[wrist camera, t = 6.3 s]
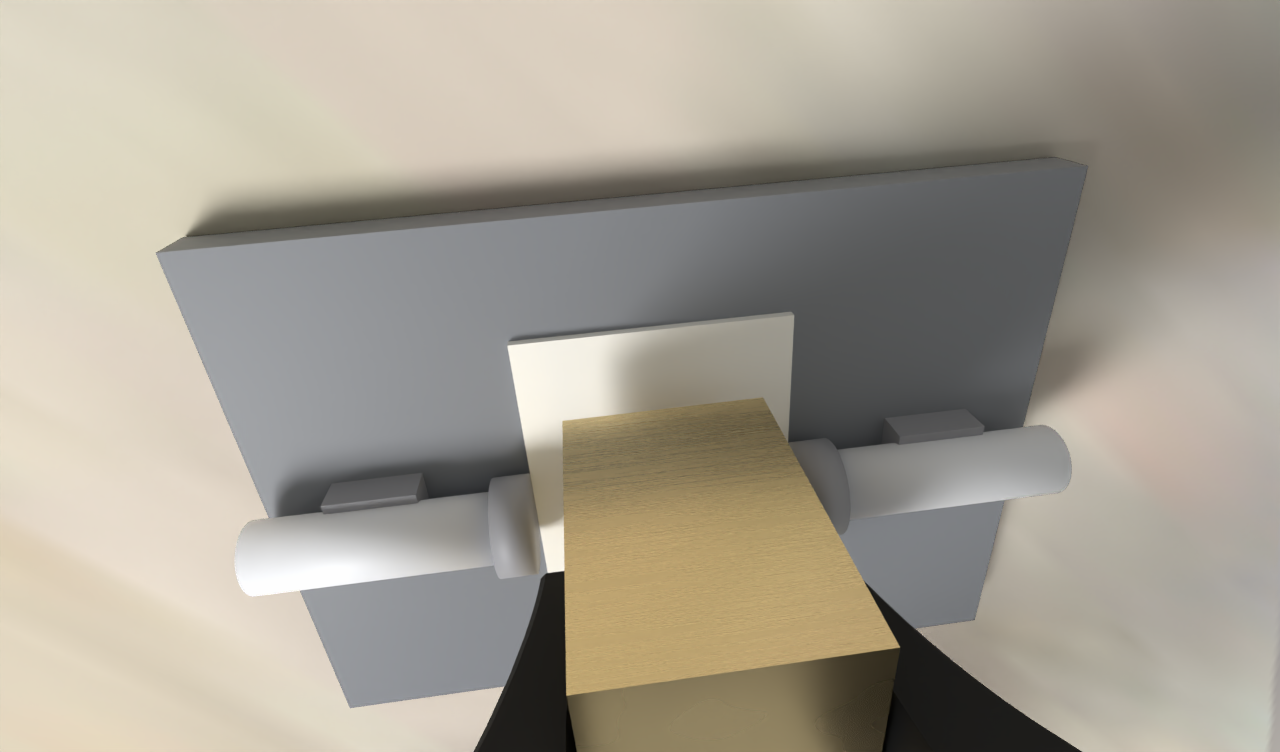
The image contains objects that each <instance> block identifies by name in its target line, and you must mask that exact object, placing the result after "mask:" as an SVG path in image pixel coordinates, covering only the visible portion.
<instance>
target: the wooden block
mask: <svg viewBox="0 0 1280 752" xmlns="http://www.w3.org/2000/svg"><path fill="white" fill-rule="evenodd" d="M562 433H563V502H564V571H565V640H566V697H567V702H568V707H569V713H570V718H571V723H572V728H573V734H574V739H575V744H576V749H577V752H882V748H883V742H884V737H885V731H886V725H887V720H888V714H889V708H890V703H891V697H892V691H893V686H894V680H895V674H896V669H897V663H898V658H899V652H900V646H899V644H898V642H897V641H896V639H895V637H894V635H893V633H892V632H891V630H890V628H889V626H888V624H887V622H886V621H885V619H884V617H883V615H882V613H881V611H880V610H879V608H878V606H877V604H876V602H875V601H874V599H873V597H872V595H871V593H870V591H869V590H868V588H867V586H866V584H865V582H864V580H863V579H862V577H861V575H860V573H859V571H858V570H857V568H856V566H855V564H854V562H853V560H852V559H851V557H850V555H849V553H848V551H847V549H846V548H845V546H844V544H843V542H842V540H841V539H840V537H839V535H838V533H837V531H836V529H835V528H834V526H833V524H832V522H831V520H830V518H829V517H828V515H827V513H826V511H825V509H824V508H823V506H822V504H821V502H820V500H819V498H818V497H817V495H816V493H815V491H814V489H813V487H812V486H811V484H810V482H809V480H808V478H807V476H806V475H805V473H804V471H803V469H802V467H801V466H800V464H799V462H798V460H797V458H796V456H795V455H794V453H793V451H792V449H791V447H790V445H789V444H788V442H787V440H786V438H785V436H784V435H783V433H782V431H781V429H780V427H779V425H778V424H777V422H776V420H775V418H774V416H773V414H772V413H771V411H770V409H769V407H768V405H767V404H766V402H765V400H764V398H763V397H761V398H753V399H744V400H736V401H727V402H719V403H710V404H702V405H693V406H685V407H676V408H668V409H659V410H651V411H642V412H634V413H625V414H617V415H608V416H600V417H591V418H583V419H574V420H566V421H562Z"/></svg>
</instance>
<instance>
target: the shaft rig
mask: <svg viewBox="0 0 1280 752" xmlns="http://www.w3.org/2000/svg"><path fill="white" fill-rule="evenodd" d="M1087 169H1088V166H1087V165H1083V164H1079V163H1075V162H1072V161H1068V160H1064V159H1060V158H1057V157H1051V158H1040V159H1029V160H1019V161H1008V162H997V163H986V164H975V165H964V166H953V167H942V168H932V169H921V170H910V171H899V172H888V173H877V174H866V175H855V176H845V177H834V178H823V179H812V180H801V181H790V182H779V183H768V184H758V185H747V186H736V187H725V188H714V189H703V190H692V191H681V192H671V193H660V194H649V195H638V196H627V197H616V198H605V199H595V200H584V201H573V202H562V203H551V204H540V205H529V206H518V207H508V208H497V209H486V210H475V211H464V212H453V213H442V214H431V215H421V216H410V217H399V218H388V219H377V220H366V221H355V222H344V223H334V224H323V225H312V226H301V227H290V228H279V229H268V230H257V231H247V232H236V233H225V234H214V235H203V236H192V237H183V238H181V239H179V240H177V241H176V242H174V243H172V244H170V245H169V246H167V247H165V248H163V249H162V250H160V251H158V252H156V255H157V257H158V259H159V262H160V264H161V267H162V269H163V271H164V274H165V276H166V278H167V281H168V283H169V285H170V288H171V290H172V292H173V295H174V297H175V299H176V302H177V304H178V306H179V309H180V311H181V313H182V316H183V318H184V320H185V323H186V325H187V327H188V330H189V332H190V334H191V337H192V339H193V341H194V344H195V346H196V348H197V351H198V353H199V355H200V358H201V360H202V363H203V365H204V367H205V370H206V372H207V374H208V377H209V379H210V381H211V384H212V386H213V388H214V391H215V393H216V395H217V398H218V400H219V402H220V405H221V407H222V409H223V412H224V414H225V416H226V419H227V421H228V423H229V426H230V428H231V430H232V433H233V435H234V437H235V440H236V442H237V444H238V447H239V449H240V451H241V454H242V456H243V459H244V461H245V463H246V466H247V468H248V470H249V473H250V475H251V477H252V480H253V482H254V484H255V487H256V489H257V491H258V494H259V496H260V498H261V501H262V503H263V505H264V508H265V510H266V512H267V515H268V517H269V518H267V519H259V520H252V521H250V522H248V523H247V524H246V525H245V526H244V528H243V529H242V531H241V533H240V535H239V537H238V540H237V544H236V550H235V571H236V576H237V579H238V582H239V585H240V587H241V588H242V590H243V591H244V592H245V593H246V594H247V595H249V596H261V595H269V594H276V593H284V592H292V591H300V592H301V594H302V597H303V599H304V601H305V604H306V606H307V608H308V611H309V613H310V615H311V618H312V620H313V622H314V625H315V627H316V629H317V632H318V634H319V636H320V639H321V641H322V643H323V646H324V648H325V651H326V653H327V655H328V658H329V660H330V662H331V665H332V667H333V669H334V672H335V674H336V676H337V679H338V681H339V683H340V686H341V688H342V690H343V693H344V695H345V697H346V700H347V702H348V704H349V707H350V708H354V707H361V706H368V705H375V704H382V703H389V702H396V701H403V700H411V699H418V698H425V697H432V696H439V695H446V694H453V693H460V692H467V691H474V690H482V689H489V688H496V687H503V686H505V685H506V682H507V680H508V678H509V675H510V673H511V670H512V668H513V665H514V663H515V660H516V657H517V655H518V652H519V650H520V647H521V644H522V642H523V639H524V636H525V633H526V630H527V627H528V624H529V621H530V619H531V615H532V612H533V609H534V605H535V602H536V598H537V594H538V590H539V585H540V580H541V578H542V577H543V576H544V575H545V574H546V573H552V572H559V571H564V502H563V433H562V421H566V420H574V419H583V418H591V417H600V416H608V415H617V414H625V413H634V412H642V411H651V410H659V409H668V408H676V407H685V406H693V405H702V404H710V403H719V402H727V401H736V400H744V399H753V398H761V397H763V398H764V400H765V402H766V404H767V405H768V407H769V409H770V411H771V413H772V414H773V416H774V418H775V420H776V422H777V424H778V425H779V427H780V429H781V431H782V433H783V435H784V436H785V438H786V440H787V442H788V444H789V445H790V447H791V449H792V451H793V453H794V455H795V456H796V458H797V460H798V462H799V464H800V466H801V467H802V469H803V471H804V473H805V475H806V476H807V478H808V480H809V482H810V484H811V486H812V487H813V489H814V491H815V493H816V495H817V497H818V498H819V500H820V502H821V504H822V506H823V508H824V509H825V511H826V513H827V515H828V517H829V518H830V520H831V522H832V524H833V526H834V528H835V529H836V531H837V533H838V535H839V537H840V539H841V540H842V542H843V544H844V546H845V548H846V549H847V551H848V553H849V555H850V557H851V559H852V560H853V562H854V564H855V566H856V568H857V570H858V571H859V573H860V575H861V577H862V579H863V580H864V581H865V582H866V583H867V584H868V585H869V586H870V587H871V588H872V589H873V590H874V591H875V592H876V593H877V594H878V595H879V596H880V597H881V598H882V599H883V600H884V601H885V602H886V603H888V604H889V605H890V606H891V607H892V608H893V609H894V610H895V611H896V612H897V613H898V614H899V615H900V616H902V617H903V618H904V619H905V620H906V621H907V622H908V623H909V624H910V625H911V626H912V627H914V628H922V627H929V626H936V625H943V624H950V623H957V622H964V621H971V620H975V616H976V612H977V608H978V604H979V600H980V596H981V592H982V588H983V584H984V580H985V576H986V572H987V568H988V564H989V560H990V556H991V552H992V548H993V544H994V540H995V536H996V532H997V528H998V524H999V520H1000V516H1001V512H1002V508H1003V504H1004V500H1008V499H1016V498H1024V497H1032V496H1040V495H1047V494H1055V493H1060V492H1062V491H1063V490H1064V489H1065V488H1066V487H1067V486H1068V484H1069V482H1070V479H1071V473H1072V464H1071V458H1070V454H1069V451H1068V448H1067V446H1066V444H1065V442H1064V440H1063V439H1062V438H1061V436H1060V435H1059V434H1058V433H1057V432H1056V431H1055V430H1054V429H1052V428H1050V427H1048V426H1045V425H1037V426H1029V427H1023V424H1024V420H1025V416H1026V412H1027V408H1028V404H1029V400H1030V396H1031V392H1032V388H1033V384H1034V380H1035V376H1036V372H1037V368H1038V364H1039V360H1040V356H1041V352H1042V348H1043V344H1044V340H1045V336H1046V332H1047V328H1048V324H1049V320H1050V316H1051V312H1052V308H1053V304H1054V300H1055V296H1056V292H1057V288H1058V284H1059V280H1060V276H1061V272H1062V268H1063V264H1064V260H1065V256H1066V252H1067V248H1068V244H1069V240H1070V237H1071V233H1072V229H1073V225H1074V221H1075V217H1076V213H1077V209H1078V205H1079V201H1080V197H1081V193H1082V189H1083V185H1084V181H1085V177H1086V173H1087Z"/></svg>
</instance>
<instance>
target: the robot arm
mask: <svg viewBox="0 0 1280 752" xmlns="http://www.w3.org/2000/svg"><path fill="white" fill-rule="evenodd" d="M864 582H865V581H864ZM865 584H866V586H867V588H868V590H869V591H870V593H871V595H872V597H873V599H874V601H875V602H876V604H877V606H878V608H879V610H880V611H881V613H882V615H883V617H884V619H885V621H886V622H887V624H888V626H889V628H890V630H891V632H892V633H893V635H894V637H895V639H896V641H897V642H898V644H899V646H900V652H899V658H898V663H897V669H896V674H895V680H894V686H893V691H892V697H891V703H890V708H889V714H888V720H887V725H886V731H885V737H884V742H883V748H882V752H1082V751H1080V750H1079V749H1077V748H1075V747H1074V746H1072V745H1071V744H1069V743H1068V742H1066V741H1064V740H1063V739H1061V738H1060V737H1058V736H1057V735H1055V734H1053V733H1052V732H1050V731H1049V730H1047V729H1046V728H1044V727H1043V726H1041V725H1039V724H1038V723H1036V722H1035V721H1033V720H1032V719H1030V718H1029V717H1027V716H1026V715H1024V714H1023V713H1021V712H1020V711H1019V710H1017V709H1016V708H1014V707H1013V706H1011V705H1010V704H1008V703H1007V702H1006V701H1004V700H1003V699H1002V698H1000V697H999V696H997V695H996V694H995V693H993V692H992V691H991V690H989V689H988V688H987V687H985V686H984V685H983V684H981V683H980V682H979V681H977V680H976V679H975V678H973V677H972V676H971V675H970V674H968V673H967V672H966V671H964V670H963V669H962V668H961V667H960V666H958V665H957V664H956V663H955V662H953V661H952V660H951V659H950V658H948V657H947V656H946V655H945V654H944V653H943V652H941V651H940V650H939V649H938V648H937V647H935V646H934V645H933V644H932V643H931V642H929V641H928V640H927V639H926V638H925V637H924V636H923V635H921V634H920V633H919V632H918V631H917V630H916V629H915V628H914V627H912V626H911V625H910V624H909V623H908V622H907V621H906V620H905V619H904V618H903V617H902V616H900V615H899V614H898V613H897V612H896V611H895V610H894V609H893V608H892V607H891V606H890V605H889V604H888V603H886V602H885V601H884V600H883V599H882V598H881V597H880V596H879V595H878V594H877V593H876V592H875V591H874V590H873V589H872V588H871V587H870V586H869V585H868V584H867V583H866V582H865ZM474 752H577V749H576V744H575V739H574V734H573V728H572V723H571V718H570V713H569V707H568V702H567V697H566V640H565V571H559V572H552V573H546V574H545V575H544V576H543V577H542V578H541V580H540V585H539V590H538V594H537V598H536V602H535V605H534V609H533V612H532V615H531V619H530V621H529V624H528V627H527V630H526V633H525V636H524V639H523V642H522V644H521V647H520V650H519V652H518V655H517V657H516V660H515V663H514V665H513V668H512V670H511V673H510V675H509V678H508V680H507V682H506V685H505V687H504V689H503V691H502V694H501V696H500V698H499V700H498V702H497V705H496V707H495V709H494V711H493V713H492V716H491V718H490V720H489V722H488V724H487V726H486V728H485V730H484V732H483V734H482V736H481V738H480V740H479V742H478V744H477V746H476V748H475V750H474Z"/></svg>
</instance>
